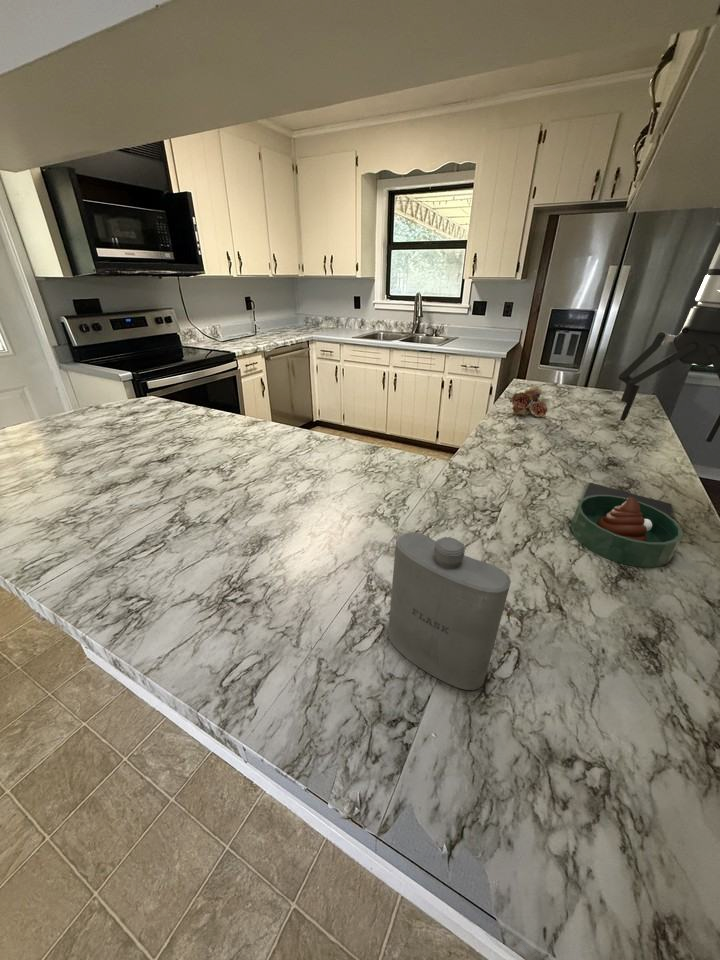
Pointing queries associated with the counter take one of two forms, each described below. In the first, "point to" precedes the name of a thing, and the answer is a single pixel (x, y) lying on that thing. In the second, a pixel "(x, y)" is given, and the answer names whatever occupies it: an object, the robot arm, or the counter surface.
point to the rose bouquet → (529, 402)
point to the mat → (602, 490)
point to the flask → (445, 608)
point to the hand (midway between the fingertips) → (663, 429)
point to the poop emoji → (626, 521)
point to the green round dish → (620, 548)
